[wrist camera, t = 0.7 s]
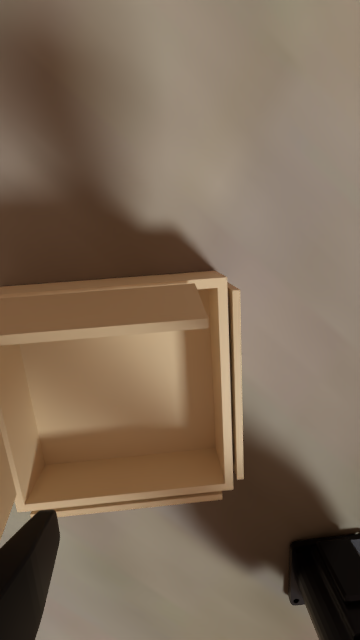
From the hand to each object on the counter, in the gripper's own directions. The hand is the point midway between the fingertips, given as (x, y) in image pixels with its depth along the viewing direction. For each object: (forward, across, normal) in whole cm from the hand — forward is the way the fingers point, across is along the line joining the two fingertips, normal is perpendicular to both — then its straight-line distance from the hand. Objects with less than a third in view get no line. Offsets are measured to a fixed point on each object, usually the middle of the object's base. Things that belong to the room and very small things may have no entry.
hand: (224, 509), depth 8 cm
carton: (+12, +4, +1) cm, 13 cm away
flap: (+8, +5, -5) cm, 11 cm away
